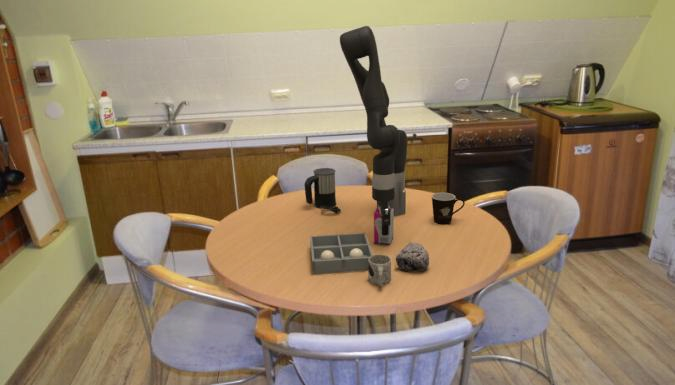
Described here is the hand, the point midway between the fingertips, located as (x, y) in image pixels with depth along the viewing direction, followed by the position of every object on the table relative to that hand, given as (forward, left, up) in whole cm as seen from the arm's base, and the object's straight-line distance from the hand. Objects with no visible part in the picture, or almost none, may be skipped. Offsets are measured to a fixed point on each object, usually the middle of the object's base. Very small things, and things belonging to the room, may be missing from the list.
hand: (383, 230), depth 178 cm
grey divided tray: (+16, +11, -4) cm, 20 cm away
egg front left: (+11, +16, -3) cm, 20 cm away
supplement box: (0, 0, -4) cm, 4 cm away
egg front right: (+20, +16, -3) cm, 26 cm away
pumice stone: (-5, +20, -4) cm, 21 cm away
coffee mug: (-26, -13, -4) cm, 29 cm away
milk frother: (+17, -35, -4) cm, 39 cm away
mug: (+6, +28, -4) cm, 29 cm away
